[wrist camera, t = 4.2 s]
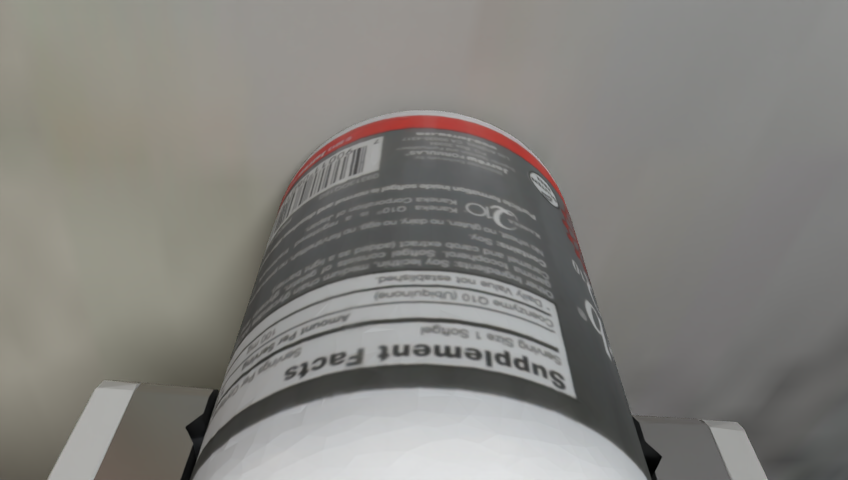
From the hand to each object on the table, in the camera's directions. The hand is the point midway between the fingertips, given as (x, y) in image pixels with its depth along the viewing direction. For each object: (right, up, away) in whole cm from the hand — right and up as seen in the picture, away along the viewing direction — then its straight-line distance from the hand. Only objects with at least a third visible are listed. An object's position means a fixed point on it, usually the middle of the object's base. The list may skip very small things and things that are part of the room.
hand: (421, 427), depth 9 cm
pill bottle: (0, +3, +4) cm, 5 cm away
